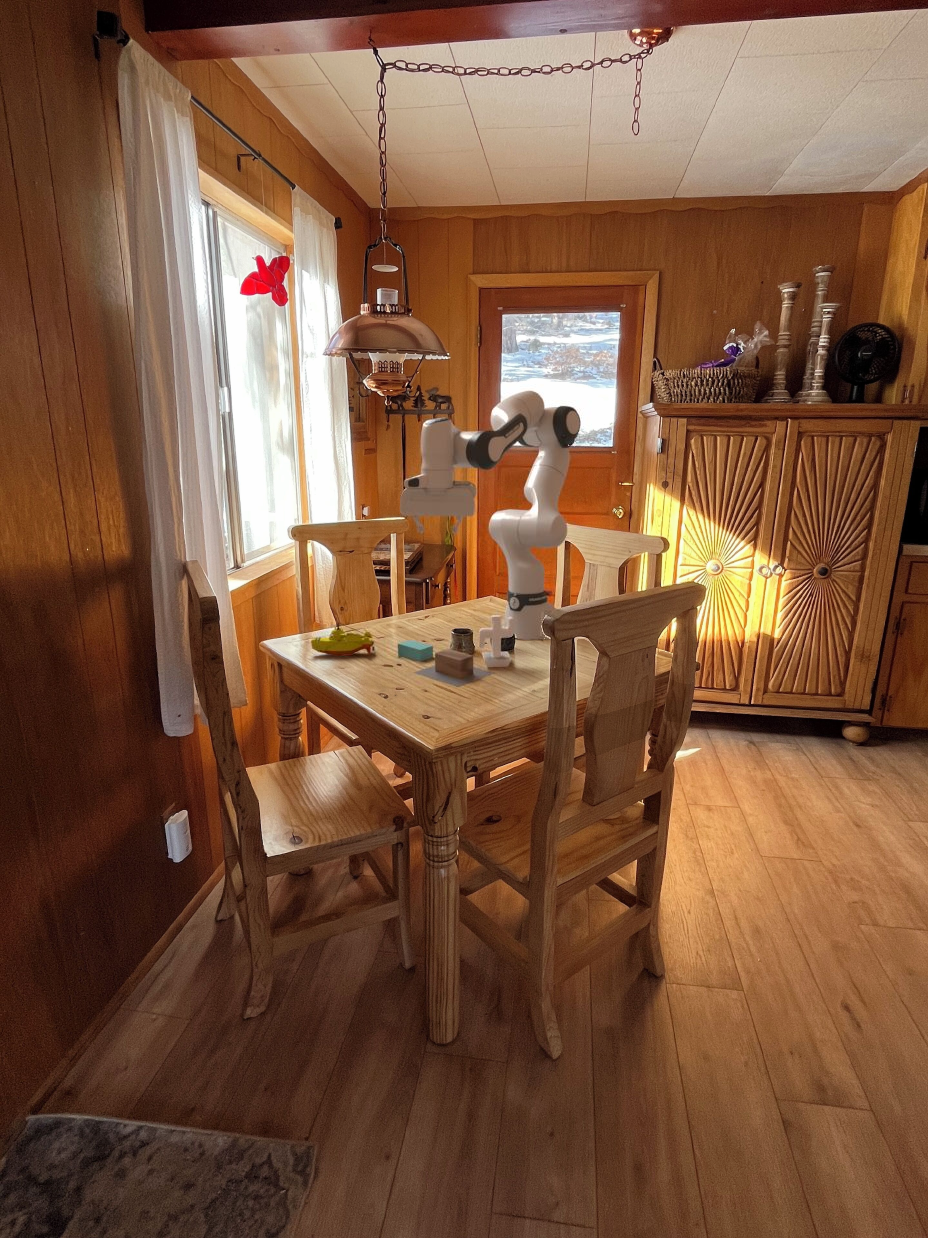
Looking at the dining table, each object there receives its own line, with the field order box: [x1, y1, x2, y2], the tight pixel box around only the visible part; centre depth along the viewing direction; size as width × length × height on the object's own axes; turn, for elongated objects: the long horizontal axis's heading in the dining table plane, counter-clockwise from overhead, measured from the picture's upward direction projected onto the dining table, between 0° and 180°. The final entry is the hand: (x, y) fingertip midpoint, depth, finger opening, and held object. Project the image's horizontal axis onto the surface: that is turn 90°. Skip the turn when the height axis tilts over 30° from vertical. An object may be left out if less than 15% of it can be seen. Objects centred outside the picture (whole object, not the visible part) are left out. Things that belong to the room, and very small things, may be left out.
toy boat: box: [310, 621, 376, 657], centre depth 202 cm, size 6×18×10 cm, turn 94°
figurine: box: [478, 614, 514, 668], centre depth 188 cm, size 7×9×15 cm
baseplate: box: [413, 665, 495, 688], centre depth 183 cm, size 14×16×2 cm
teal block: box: [397, 639, 434, 663], centre depth 196 cm, size 5×9×5 cm, turn 47°
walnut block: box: [434, 648, 474, 679], centre depth 182 cm, size 5×9×5 cm, turn 47°
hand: (437, 532), depth 190 cm, fingers open, 8 cm apart
